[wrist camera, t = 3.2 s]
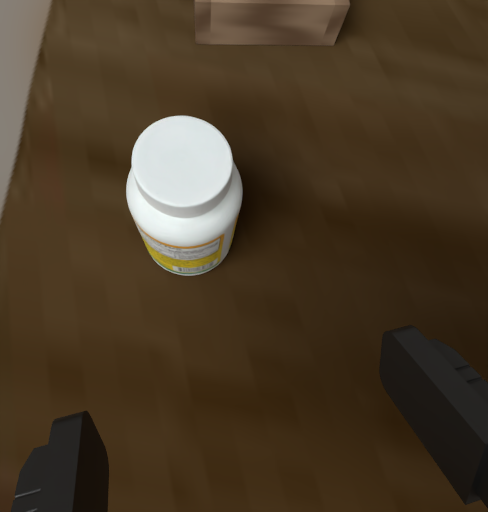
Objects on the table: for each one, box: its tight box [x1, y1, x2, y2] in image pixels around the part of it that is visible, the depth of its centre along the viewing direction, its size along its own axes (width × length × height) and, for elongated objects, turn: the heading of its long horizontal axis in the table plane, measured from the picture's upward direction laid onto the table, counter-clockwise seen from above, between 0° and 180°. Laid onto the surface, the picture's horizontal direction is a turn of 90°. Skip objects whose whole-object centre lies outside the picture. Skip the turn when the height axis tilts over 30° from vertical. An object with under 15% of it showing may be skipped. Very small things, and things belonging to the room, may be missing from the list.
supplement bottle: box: [126, 116, 243, 275], centre depth 21 cm, size 5×5×10 cm
